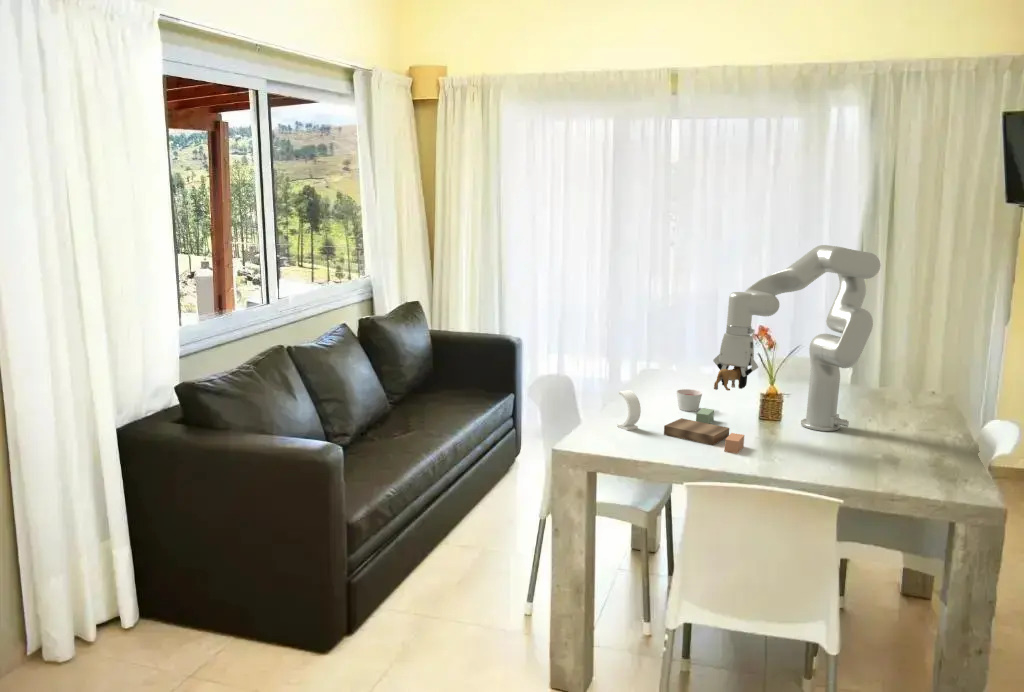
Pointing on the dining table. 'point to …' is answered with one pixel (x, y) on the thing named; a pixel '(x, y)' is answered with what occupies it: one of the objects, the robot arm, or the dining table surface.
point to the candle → (688, 399)
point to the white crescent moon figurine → (631, 410)
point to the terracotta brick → (734, 443)
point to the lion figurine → (728, 377)
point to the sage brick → (705, 415)
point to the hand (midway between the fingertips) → (733, 385)
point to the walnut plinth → (696, 431)
